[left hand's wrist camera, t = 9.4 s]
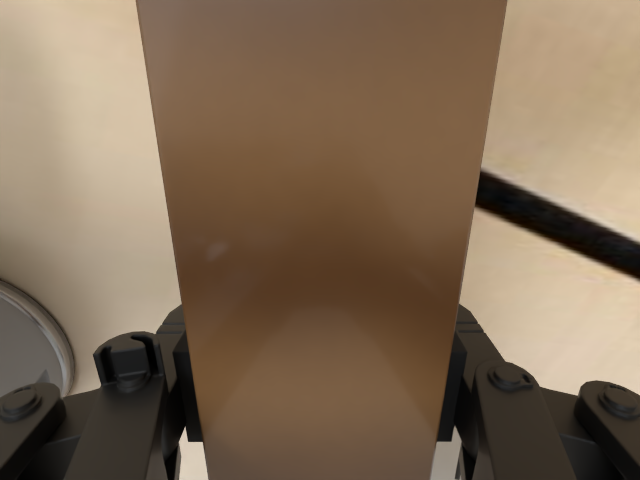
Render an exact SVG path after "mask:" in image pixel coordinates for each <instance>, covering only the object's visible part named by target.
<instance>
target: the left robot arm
mask: <svg viewBox="0 0 640 480" xmlns="http://www.w3.org/2000/svg"><path fill="white" fill-rule="evenodd" d="M93 357H94V360H95V364H96V368H97V371H98V375H99V378H100V382H101V387H100V388H99V389H96V390H93V391H89V392H84V393H80V394H75V395H71V396H67V394H68V393H69V391H70V389H71V386H72V383H73V379H74V360H73V355H72V351H71V348H70V346H69V343H68V341H67V339H66V337H65V335H64V333H63V332H62V330H61V329H60V327H59V326H58V324H57V323H56V322H55V320H54V319H53V318H52V317H51V316H50V315H49V314H48V312H47V311H46V310H45V309H43V308H42V307H41V306H40V305H39V304H38V303H37V302H36V301H34V300H33V299H32V298H30V297H29V296H28V295H26V294H25V293H23V292H22V291H20V290H19V289H17V288H15V287H14V286H12V285H10V284H8V283H6V282H4V281H2V280H0V480H179V474H180V464H181V452H180V446H179V440H180V438H181V435H182V433H183V430H184V428H185V426H186V432H187V438H188V442H203V439H202V433H201V426H200V420H199V413H198V407H197V400H196V393H195V387H194V380H193V374H192V367H191V361H190V354H189V347H188V341H187V334H186V328H185V321H184V315H183V308H182V304H181V305H180V306H179V307H177V308H176V309H174V310H173V311H171V312H170V313H169V314H168V316H167V317H166V319H165V320H164V322H163V323H162V325H161V326H160V327H159V329H158V330H157V332H156V334H155V335H154V334H153V333H149V332H145V331H142V332H130V333H126V334H122V335H119V336H117V337H114V338H112V339H110V340H108V341H107V342H105V343H104V344H102V345H101V346H99V347H98V349H97V350H96V351H95V352H94V354H93ZM454 425H455V427H456V429H457V431H458V434H459V436H460V439H461V446H460V452H459V457H458V462H457V467H456V473H455V479H456V480H460V475H461V480H640V395H638V394H636V393H634V392H632V391H631V390H629V389H627V388H625V387H622V386H620V385H616V384H613V383H610V382H604V381H590V382H586V383H585V384H583V385H582V386H581V388H580V391H579V394H578V396H576V395H572V394H567V393H563V392H558V391H554V390H549V389H546V388H542V387H539V384H538V383H537V381H536V380H535V378H534V377H533V376H532V375H531V374H529V373H528V372H527V371H526V370H524V369H523V368H521V367H519V366H517V365H515V364H513V363H509V362H505V360H504V359H503V358H502V356H501V355H500V353H499V352H498V350H497V349H496V348H495V346H494V345H493V343H492V342H491V340H490V339H489V338H488V336H487V335H486V333H484V330H483V329H482V328H481V326H480V325H479V324H478V322H477V320H476V319H475V318H474V316H473V315H472V313H471V312H470V311H469V310H467V309H466V308H465V307H463V306H462V305H460V304H459V306H458V312H457V319H456V325H455V331H454V337H453V344H452V350H451V356H450V362H449V369H448V375H447V381H446V387H445V394H444V400H443V406H442V412H441V419H440V425H439V431H438V437H437V442H452V436H453V431H454Z"/></svg>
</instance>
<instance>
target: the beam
mask: <svg viewBox="0 0 640 480" xmlns="http://www.w3.org/2000/svg"><path fill="white" fill-rule="evenodd" d="M136 5H137V12H138V19H139V25H140V32H141V38H142V45H143V52H144V58H145V65H146V71H147V78H148V84H149V91H150V98H151V104H152V111H153V117H154V124H155V130H156V137H157V144H158V150H159V157H160V163H161V170H162V176H163V183H164V190H165V196H166V203H167V209H168V216H169V222H170V229H171V236H172V242H173V249H174V255H175V262H176V269H177V275H178V282H179V288H180V295H181V301H182V308H183V315H184V321H185V328H186V334H187V341H188V347H189V354H190V361H191V367H192V374H193V380H194V387H195V393H196V400H197V407H198V413H199V420H200V426H201V433H202V439H203V446H204V453H205V459H206V466H207V472H208V479H209V480H431V475H432V469H433V462H434V456H435V450H436V444H437V437H438V431H439V425H440V419H441V412H442V406H443V400H444V394H445V387H446V381H447V375H448V369H449V362H450V356H451V350H452V344H453V337H454V331H455V325H456V319H457V312H458V306H459V300H460V294H461V287H462V281H463V275H464V269H465V262H466V256H467V250H468V244H469V237H470V231H471V225H472V218H473V212H474V206H475V200H476V193H477V187H478V181H479V175H480V168H481V162H482V156H483V150H484V143H485V137H486V131H487V125H488V118H489V112H490V106H491V100H492V93H493V87H494V81H495V75H496V68H497V62H498V56H499V50H500V43H501V37H502V31H503V25H504V18H505V12H506V6H507V0H136Z"/></svg>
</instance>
